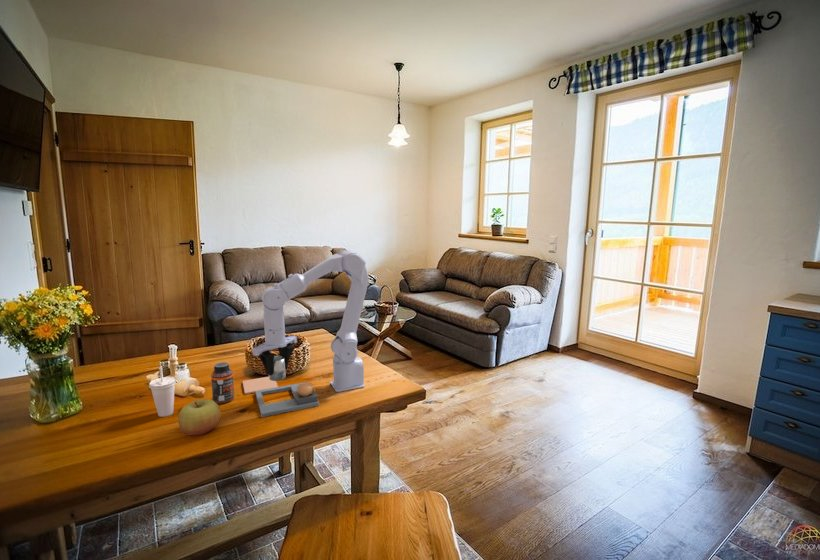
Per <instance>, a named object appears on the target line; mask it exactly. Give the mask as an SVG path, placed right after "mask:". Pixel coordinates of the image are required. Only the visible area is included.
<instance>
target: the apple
mask: <svg viewBox="0 0 820 560" xmlns="http://www.w3.org/2000/svg"><path fill="white" fill-rule="evenodd" d="M220 420H221V410H220V406H219V404H218V403H215V402H214V401H213V399H209V398H207V399H205V398H204V399H196V400H194V401H191V402H189V403H187V404H185V405H184V406H183V407H182V408H181V410H180V411H179V413H178V416H177V422H178V426H179V429H180V430H181V431H182V432H183V433H185V434H187V435H189V436H201V435H204V434H207V433H210V432H211V431H212V430H213V429H214V428H215V427H216V426H217V425H218V423H219V422H220Z"/></svg>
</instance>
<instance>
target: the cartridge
mask: <svg viewBox="0 0 820 560" xmlns="http://www.w3.org/2000/svg"><path fill="white" fill-rule="evenodd" d="M286 374H287V372H286V370H285V357H283V356H282V355H281V356H280V355H275V356H274V360H273V375H268V377H269V379H270V380H272V381H276V382H278V381H283V380H284V379H285V378H286Z"/></svg>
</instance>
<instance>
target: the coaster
mask: <svg viewBox="0 0 820 560" xmlns="http://www.w3.org/2000/svg"><path fill="white" fill-rule="evenodd" d="M277 382H278V381H272V380H270V379H269V376H264V377H257V378H251V379H246V380H242V387H243V392H244V395H246V394H247V395H251V393H252V394H256V393H255V391H259V390H265V389H270V388H276V387H279V385H278V383H277Z"/></svg>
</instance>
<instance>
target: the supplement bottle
mask: <svg viewBox="0 0 820 560" xmlns="http://www.w3.org/2000/svg"><path fill="white" fill-rule="evenodd" d="M210 378H211V392H212V394H211V395H212V400H213V401H214V402H215V403H216V404H217V405H221V404H226V403H230V402H232V401H233V400H234V398H235V388H234V387H235V386H234V385H235V384H234V372H233V370H232V369H231V368H230V363H229V362H217V363H215V364H214V365H213V371H212V372H211V375H210Z"/></svg>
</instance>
